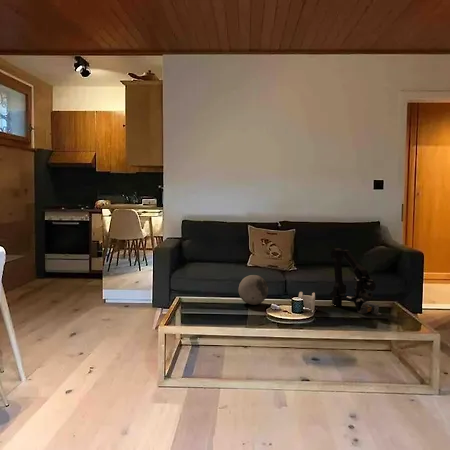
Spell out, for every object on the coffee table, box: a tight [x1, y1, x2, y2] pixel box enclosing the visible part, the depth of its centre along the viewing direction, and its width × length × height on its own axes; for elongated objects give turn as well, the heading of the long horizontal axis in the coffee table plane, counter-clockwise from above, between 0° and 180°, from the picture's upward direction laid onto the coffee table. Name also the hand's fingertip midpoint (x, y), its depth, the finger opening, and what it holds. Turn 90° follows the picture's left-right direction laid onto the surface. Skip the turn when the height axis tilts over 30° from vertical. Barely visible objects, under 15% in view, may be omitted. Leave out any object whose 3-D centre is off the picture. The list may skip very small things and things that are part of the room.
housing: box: [362, 301, 382, 317], centre depth 354 cm, size 18×4×6 cm, turn 30°
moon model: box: [238, 274, 269, 306], centre depth 357 cm, size 20×20×20 cm
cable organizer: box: [297, 291, 316, 312], centre depth 347 cm, size 15×11×12 cm
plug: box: [357, 306, 371, 315], centre depth 353 cm, size 14×4×4 cm, turn 122°
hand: (358, 310), depth 349 cm, fingers closed
